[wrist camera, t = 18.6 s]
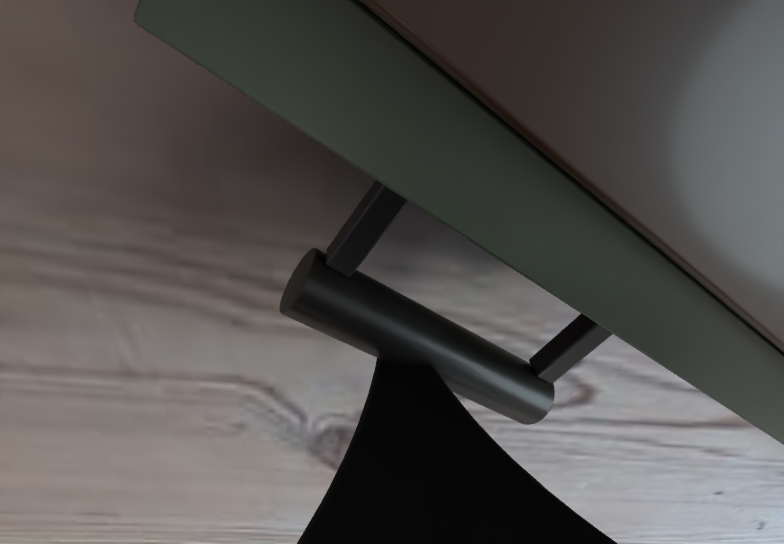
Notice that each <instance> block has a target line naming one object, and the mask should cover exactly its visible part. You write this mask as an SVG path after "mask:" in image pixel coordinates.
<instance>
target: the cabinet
mask: <svg viewBox="0 0 784 544" xmlns="http://www.w3.org/2000/svg"><path fill="white" fill-rule="evenodd" d="M359 1H360V2H361V3H362V4H364V5H365V6H366V7H367V8H368V9H370V10H371V11H372V12H373V13H374V14H376V15H377V16H378V17H379V18H380V19H382V20H383V21H384V22H385V23H386V24H388V25H389V26H390V27H391V28H392V29H394V30H395V31H396V32H397V33H398V34H400V35H401V36H402V37H403V38H405V39H406V40H407V41H408V42H409V43H411V44H412V45H413V46H414V47H415V48H417V49H418V50H419V51H420V52H421V53H423V54H424V55H425V56H426V57H427V58H429V59H430V60H431V61H432V62H433V63H435V64H436V65H437V66H438V67H440V68H441V69H442V70H443V71H444V72H446V73H447V74H448V75H449V76H450V77H452V78H453V79H454V80H455V81H456V82H458V83H459V84H460V85H461V86H462V87H464V88H465V89H466V90H467V91H468V92H470V93H471V94H472V95H473V96H474V97H476V98H477V99H478V100H479V101H481V102H482V103H483V104H484V105H485V106H487V107H488V108H489V109H490V110H491V111H493V112H494V113H495V114H496V115H497V116H499V117H500V118H501V119H502V120H503V121H505V122H506V123H507V124H508V125H509V126H511V127H512V128H513V129H514V130H516V131H517V132H518V133H519V134H520V135H522V136H523V137H524V138H525V139H526V140H528V141H529V142H530V143H531V144H532V145H534V146H535V147H536V148H537V149H538V150H540V151H541V152H542V153H543V154H544V155H546V156H547V157H548V158H549V159H550V160H552V161H553V162H554V163H555V164H557V165H558V166H559V167H560V168H561V169H563V170H564V171H565V172H566V173H567V174H569V175H570V176H571V177H572V178H573V179H575V180H576V181H577V182H578V183H579V184H581V185H582V186H583V187H584V188H585V189H587V190H588V191H589V192H590V193H592V194H593V195H594V196H595V197H596V198H598V199H599V200H600V201H601V202H602V203H604V204H605V205H606V206H607V207H608V208H610V209H611V210H612V211H613V212H614V213H616V214H617V215H618V216H619V217H620V218H622V219H623V220H624V221H625V222H626V223H628V224H629V225H630V226H631V227H633V228H634V229H635V230H636V231H637V232H639V233H640V234H641V235H642V236H643V237H645V238H646V239H647V240H648V241H649V242H651V243H652V244H653V245H654V246H655V247H657V248H658V249H659V250H660V251H661V252H663V253H664V254H665V255H666V256H668V257H669V258H670V259H671V260H672V261H674V262H675V263H676V264H677V265H678V266H680V267H681V268H682V269H683V270H684V271H686V272H687V273H688V274H689V275H690V276H692V277H693V278H694V279H695V280H696V281H698V282H699V283H700V284H701V285H702V286H704V287H705V288H706V289H707V290H709V291H710V292H711V293H712V294H713V295H715V296H716V297H717V298H718V299H719V300H721V301H722V302H723V303H724V304H725V305H727V306H728V307H729V308H730V309H731V310H733V311H734V312H735V313H736V314H737V315H739V316H740V317H741V318H742V319H744V320H745V321H746V322H747V323H748V324H750V325H751V326H752V327H753V328H754V329H756V330H757V331H758V332H759V333H760V334H762V335H763V336H764V337H765V338H766V339H768V340H769V341H770V342H771V343H772V344H774V345H775V346H776V347H777V348H778V349H780V350H781V351H782V352H783V353H784V0H359Z"/></svg>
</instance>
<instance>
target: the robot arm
mask: <svg viewBox="0 0 784 544" xmlns="http://www.w3.org/2000/svg"><path fill="white" fill-rule="evenodd" d="M297 544H617V543H616V542H615V541H613V540H612V539H610V538H609V537H608V536H606V535H605V534H603V533H602V532H601V531H599V530H598V529H597V528H595V527H594V526H593V525H591V524H590V523H589V522H587V521H586V520H585V519H583V518H582V517H581V516H579V515H578V514H577V513H575V512H574V511H573V510H572V509H570V508H569V507H568V506H567V505H565V504H564V503H563V502H562V501H561V500H559V499H558V498H557V497H556V496H554V495H553V494H552V493H551V492H549V491H548V490H547V489H546V488H545V487H544V486H543V485H541V484H540V483H539V482H538V481H537V480H536V479H535V478H534V477H532V476H531V475H530V474H529V473H528V472H527V471H526V470H524V469H523V468H522V467H521V466H520V465H519V464H518V463H517V462H515V461H514V460H513V459H512V458H511V457H510V456H509V455H508V454H507V453H506V452H505V451H504V450H503V449H502V448H501V447H500V446H499V445H498V444H497V443H496V442H495V441H494V440H493V439H492V438H491V437H490V436H489V435H488V433H487V432H486V431H485V430H484V429H483V428H482V427H481V426H480V425H479V424H478V423H477V422H476V420H475V419H474V418H473V417H472V416H471V415H470V413H469V412H468V411H467V410H466V409H465V407H464V406H463V405H462V404H461V402H460V401H459V400H458V399H457V397H456V396H455V395H454V394H453V392H452V391H451V390H450V388H449V387H448V386H447V384H446V383H445V381H444V380H443V379H442V377H441V376H440V374H439V373H438V371H437V370H436V368H435V367H433V366H432V365H420V366H404V365H396V364H392V363H388V362H386V361H383V360H381V359H379V358H377V362H376V367H375V371H374V375H373V379H372V383H371V386H370V390H369V394H368V397H367V400H366V403H365V406H364V409H363V412H362V414H361V417H360V420H359V423H358V426H357V428H356V431H355V433H354V436H353V438H352V440H351V443H350V445H349V447H348V450H347V452H346V454H345V456H344V459H343V461H342V463H341V465H340V467H339V469H338V471H337V473H336V475H335V477H334V479H333V481H332V483H331V485H330V487H329V489H328V491H327V493H326V495H325V496H324V498H323V500H322V502H321V504H320V505H319V507H318V509H317V510H316V512H315V514H314V516H313V517H312V519H311V521H310V522H309V524H308V526H307V527H306V529H305V531H304V533H303V534H302V536H301V538H300V539H299V541H298V543H297Z"/></svg>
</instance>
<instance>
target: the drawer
mask: <svg viewBox="0 0 784 544" xmlns="http://www.w3.org/2000/svg"><path fill="white" fill-rule="evenodd" d="M134 22H135V23H136V24H137V25H138V26H140V27H141V28H143V29H144V30H146V31H148V32H149V33H151V34H152V35H154V36H155V37H157V38H158V39H160V40H161V41H163V42H164V43H166V44H168V45H169V46H171V47H172V48H174V49H175V50H177V51H178V52H180V53H181V54H183V55H184V56H186V57H188V58H189V59H191V60H192V61H194V62H195V63H197V64H198V65H200V66H201V67H203V68H204V69H206V70H208V71H209V72H211V73H212V74H214V75H215V76H217V77H218V78H220V79H221V80H223V81H224V82H226V83H228V84H229V85H231V86H232V87H234V88H235V89H237V90H238V91H240V92H241V93H243V94H245V95H246V96H248V97H249V98H251V99H252V100H254V101H255V102H257V103H258V104H260V105H261V106H263V107H265V108H266V109H268V110H269V111H271V112H272V113H274V114H275V115H277V116H278V117H280V118H281V119H283V120H285V121H286V122H288V123H289V124H291V125H292V126H294V127H295V128H297V129H298V130H300V131H301V132H303V133H305V134H306V135H308V136H309V137H311V138H312V139H314V140H315V141H317V142H318V143H320V144H322V145H323V146H325V147H326V148H328V149H329V150H331V151H332V152H334V153H335V154H337V155H338V156H340V157H342V158H343V159H345V160H346V161H348V162H349V163H351V164H352V165H354V166H355V167H357V168H358V169H360V170H362V171H363V172H365V173H366V174H368V175H369V176H371V177H372V178H374V179H375V180H376V181H375V182H374V184H373V185H372V187H371V188H370V189H369V191H368V192H367V194H366V195H365V196H364V198H363V199H362V201H361V202H360V203H359V205H358V206H357V208H356V209H355V210H354V212H353V213H352V215H351V216H350V217H349V219H348V220H347V222H346V223H345V224H344V226H343V227H342V229H341V230H340V231H339V233H338V234H337V236H336V237H335V238H334V240H333V241H332V243H331V244H330V245H329V247H328V248H327V251H326V253H324V252H322V251H321V250H319V249H317V248H312V249H311V250H310V251H308V252H307V253H306V254H305V256H304V257H303V258H302V259H301V261H300V262H299V264H298V265H297V267H296V269H295V270H294V272H293V274H292V276H291V277H290V279H289V281H288V284H287V286H286V288H285V290H284V293H283V296H282V299H281V302H280V312H281V314H283V315H285V316H287V317H289V318H291V319H294V320H296V321H298V322H300V323H302V324H305V325H307V326H309V327H311V328H313V329H316V330H318V331H320V332H322V333H324V334H327V335H329V336H331V337H333V338H335V339H337V340H340V341H342V342H344V343H346V344H348V345H351V346H353V347H355V348H357V349H359V350H362V351H364V352H366V353H368V354H370V355H373V356H375V357H377V358H379V359H381V360H383V361H386V362H388V363H392V364H396V365H404V366H420V365H432V366H433V367H435V368H436V370H437V371H438V373H439V374H440V376H441V377H442V379H443V380H444V381H445V383H446V384H447V386H448V387H449V388H450V390H451V391H452V392H454V393H456V394H458V395H460V396H462V397H465V398H467V399H469V400H471V401H473V402H475V403H478V404H480V405H482V406H484V407H486V408H489V409H491V410H493V411H495V412H497V413H500V414H502V415H504V416H506V417H508V418H511V419H513V420H515V421H517V422H519V423H522V424H526V425H527V424H534V423H537V422H539V421H540V420H542V419H543V418H544V417H545V416H546V415H547V414H548V412H549V411H550V409H551V407H552V404H553V401H554V394H555V391H554V385H553V383H554V382H555V381H556V380H557V379H559V378H560V377H561V376H562V375H563V374H565V373H566V372H567V371H568V370H569V369H571V368H572V367H573V366H574V365H576V364H577V363H578V362H579V361H580V360H582V359H583V358H584V357H585V356H586V355H588V354H589V353H590V352H591V351H593V350H594V349H595V348H596V347H597V346H599V345H600V344H601V343H602V342H603V341H605V340H606V339H607V338H608V337H610V336H611V335H612V334H614V335H616V336H617V337H619V338H620V339H622V340H623V341H625V342H626V343H628V344H630V345H631V346H633V347H634V348H636V349H637V350H639V351H640V352H642V353H643V354H645V355H646V356H648V357H650V358H651V359H653V360H654V361H656V362H657V363H659V364H660V365H662V366H663V367H665V368H666V369H668V370H670V371H671V372H673V373H674V374H676V375H677V376H679V377H680V378H682V379H683V380H685V381H686V382H688V383H690V384H691V385H693V386H694V387H696V388H697V389H699V390H700V391H702V392H703V393H705V394H707V395H708V396H710V397H711V398H713V399H714V400H716V401H717V402H719V403H720V404H722V405H723V406H725V407H727V408H728V409H730V410H731V411H733V412H734V413H736V414H737V415H739V416H740V417H742V418H743V419H745V420H747V421H748V422H750V423H751V424H753V425H754V426H756V427H757V428H759V429H760V430H762V431H763V432H765V433H767V434H768V435H770V436H771V437H773V438H774V439H776V440H777V441H779V442H780V443H782V444H784V353H783V352H782V351H781V350H780V349H778V348H777V347H776V346H775V345H774V344H772V343H771V342H770V341H769V340H768V339H766V338H765V337H764V336H763V335H762V334H760V333H759V332H758V331H757V330H756V329H754V328H753V327H752V326H751V325H750V324H748V323H747V322H746V321H745V320H744V319H742V318H741V317H740V316H739V315H737V314H736V313H735V312H734V311H733V310H731V309H730V308H729V307H728V306H727V305H725V304H724V303H723V302H722V301H721V300H719V299H718V298H717V297H716V296H715V295H713V294H712V293H711V292H710V291H709V290H707V289H706V288H705V287H704V286H702V285H701V284H700V283H699V282H698V281H696V280H695V279H694V278H693V277H692V276H690V275H689V274H688V273H687V272H686V271H684V270H683V269H682V268H681V267H680V266H678V265H677V264H676V263H675V262H674V261H672V260H671V259H670V258H669V257H668V256H666V255H665V254H664V253H663V252H661V251H660V250H659V249H658V248H657V247H655V246H654V245H653V244H652V243H651V242H649V241H648V240H647V239H646V238H645V237H643V236H642V235H641V234H640V233H639V232H637V231H636V230H635V229H634V228H633V227H631V226H630V225H629V224H628V223H626V222H625V221H624V220H623V219H622V218H620V217H619V216H618V215H617V214H616V213H614V212H613V211H612V210H611V209H610V208H608V207H607V206H606V205H605V204H604V203H602V202H601V201H600V200H599V199H598V198H596V197H595V196H594V195H593V194H592V193H590V192H589V191H588V190H587V189H585V188H584V187H583V186H582V185H581V184H579V183H578V182H577V181H576V180H575V179H573V178H572V177H571V176H570V175H569V174H567V173H566V172H565V171H564V170H563V169H561V168H560V167H559V166H558V165H557V164H555V163H554V162H553V161H552V160H550V159H549V158H548V157H547V156H546V155H544V154H543V153H542V152H541V151H540V150H538V149H537V148H536V147H535V146H534V145H532V144H531V143H530V142H529V141H528V140H526V139H525V138H524V137H523V136H522V135H520V134H519V133H518V132H517V131H516V130H514V129H513V128H512V127H511V126H509V125H508V124H507V123H506V122H505V121H503V120H502V119H501V118H500V117H499V116H497V115H496V114H495V113H494V112H493V111H491V110H490V109H489V108H488V107H487V106H485V105H484V104H483V103H482V102H481V101H479V100H478V99H477V98H476V97H474V96H473V95H472V94H471V93H470V92H468V91H467V90H466V89H465V88H464V87H462V86H461V85H460V84H459V83H458V82H456V81H455V80H454V79H453V78H452V77H450V76H449V75H448V74H447V73H446V72H444V71H443V70H442V69H441V68H440V67H438V66H437V65H436V64H435V63H433V62H432V61H431V60H430V59H429V58H427V57H426V56H425V55H424V54H423V53H421V52H420V51H419V50H418V49H417V48H415V47H414V46H413V45H412V44H411V43H409V42H408V41H407V40H406V39H405V38H403V37H402V36H401V35H400V34H398V33H397V32H396V31H395V30H394V29H392V28H391V27H390V26H389V25H388V24H386V23H385V22H384V21H383V20H382V19H380V18H379V17H378V16H377V15H376V14H374V13H373V12H372V11H371V10H370V9H368V8H367V7H366V6H365V5H364V4H362V3H361V2H360V1H359V0H139V2H138V4H137V7H136V10H135V13H134ZM408 202H411V203H412V204H414V205H415V206H417V207H419V208H420V209H422V210H423V211H425V212H426V213H428V214H429V215H431V216H432V217H434V218H435V219H437V220H439V221H440V222H442V223H443V224H445V225H446V226H448V227H449V228H451V229H452V230H454V231H455V232H457V233H459V234H460V235H462V236H463V237H465V238H466V239H468V240H469V241H471V242H472V243H474V244H476V245H477V246H479V247H480V248H482V249H483V250H485V251H486V252H488V253H489V254H491V255H492V256H494V257H496V258H497V259H499V260H500V261H502V262H503V263H505V264H506V265H508V266H509V267H511V268H512V269H514V270H516V271H517V272H519V273H520V274H522V275H523V276H525V277H526V278H528V279H529V280H531V281H532V282H534V283H536V284H537V285H539V286H540V287H542V288H543V289H545V290H546V291H548V292H549V293H551V294H553V295H554V296H556V297H557V298H559V299H560V300H562V301H563V302H565V303H566V304H568V305H569V306H571V307H573V308H574V309H576V310H577V311H579V312H580V313H581V314H580V315H579V316H578V317H577V318H576V319H575V320H574V321H572V322H571V323H570V324H569V325H568V326H567V327H566V328H564V329H563V330H562V331H561V332H560V333H559V334H558V335H556V336H555V337H554V338H553V339H552V340H551V341H550V342H549V343H547V344H546V345H545V346H544V347H543V348H542V349H541V350H539V351H538V352H537V353H536V354H535V355H534V356H533V357H532V358H530V360H529V362H530V363H528V362H526V361H524V360H522V359H521V358H519V357H517V356H515V355H513V354H511V353H509V352H508V351H506V350H504V349H502V348H500V347H498V346H497V345H495V344H493V343H491V342H489V341H487V340H485V339H484V338H482V337H480V336H478V335H476V334H474V333H472V332H471V331H469V330H467V329H465V328H463V327H461V326H459V325H458V324H456V323H454V322H452V321H450V320H448V319H447V318H445V317H443V316H441V315H439V314H437V313H435V312H434V311H432V310H430V309H428V308H426V307H424V306H422V305H421V304H419V303H417V302H415V301H413V300H411V299H409V298H408V297H406V296H404V295H402V294H400V293H398V292H396V291H395V290H393V289H391V288H389V287H387V286H385V285H384V284H382V283H380V282H378V281H376V280H374V279H372V278H371V277H369V276H367V275H365V274H363V273H361V272H359V271H358V270H356V269H357V268H358V266H359V265H360V264H361V262H362V261H363V260H364V259H365V257H366V256H367V255H368V253H369V252H370V251H371V250H372V248H373V247H374V246H375V244H376V243H377V242H378V240H379V239H380V238H381V237H382V235H383V234H384V233H385V231H386V230H387V229H388V228H389V226H390V225H391V224H392V222H393V221H394V220H395V218H396V217H397V216H398V215H399V213H400V212H401V211H402V209H403V208H404V207H405V206H406V204H407V203H408Z"/></svg>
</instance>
